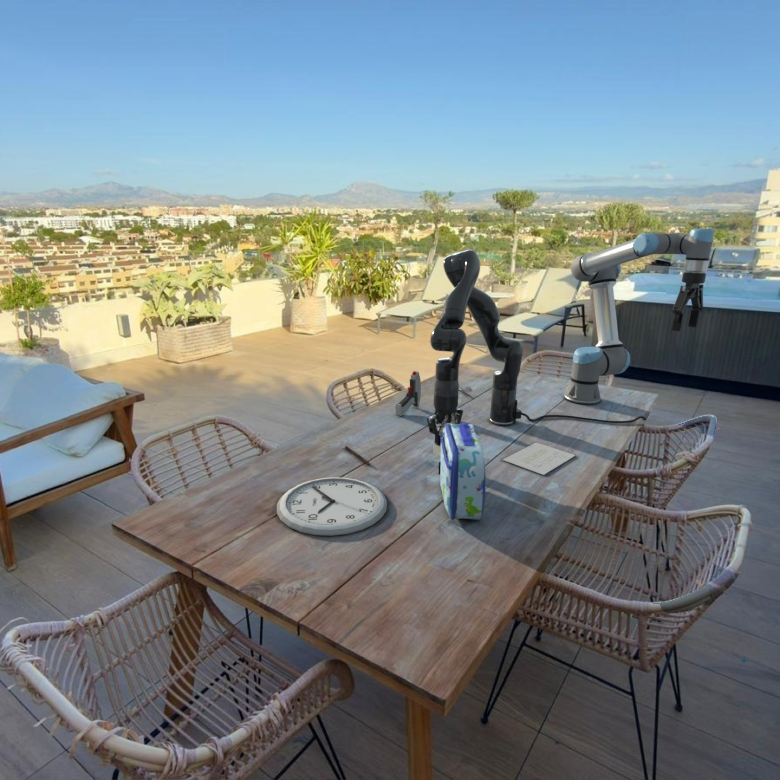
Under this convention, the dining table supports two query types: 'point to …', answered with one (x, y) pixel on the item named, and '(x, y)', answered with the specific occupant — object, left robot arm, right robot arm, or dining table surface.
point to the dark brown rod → (357, 455)
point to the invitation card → (539, 458)
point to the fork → (463, 391)
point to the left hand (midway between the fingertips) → (444, 442)
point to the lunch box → (462, 472)
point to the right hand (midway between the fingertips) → (684, 328)
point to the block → (437, 447)
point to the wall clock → (331, 506)
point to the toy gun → (410, 395)
